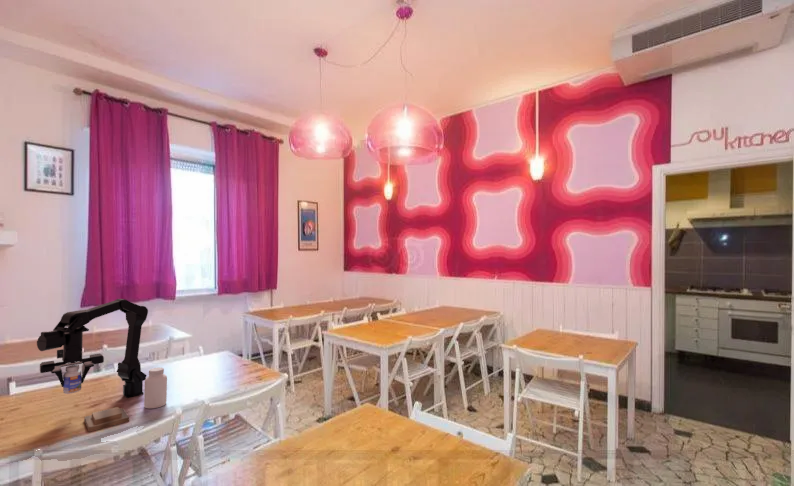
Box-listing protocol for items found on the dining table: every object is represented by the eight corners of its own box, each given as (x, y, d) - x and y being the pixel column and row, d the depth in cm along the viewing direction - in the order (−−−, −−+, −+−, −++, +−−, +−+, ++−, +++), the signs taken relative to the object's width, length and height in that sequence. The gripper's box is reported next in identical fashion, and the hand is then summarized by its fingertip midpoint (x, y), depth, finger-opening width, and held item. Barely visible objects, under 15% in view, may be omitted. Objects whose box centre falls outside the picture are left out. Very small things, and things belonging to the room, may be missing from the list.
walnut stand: (122, 411, 154) (122, 403, 154) (129, 421, 146) (129, 413, 146) (84, 420, 146) (84, 412, 146) (88, 431, 137) (88, 423, 137)
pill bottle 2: (170, 403, 163) (171, 367, 163) (151, 410, 155) (152, 373, 155) (158, 400, 166) (159, 365, 166) (139, 407, 159) (140, 370, 159)
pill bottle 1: (70, 394, 146) (70, 369, 146) (59, 393, 147) (59, 368, 147) (85, 389, 152) (85, 364, 152) (74, 388, 153) (73, 363, 153)
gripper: (99, 337, 162) (99, 374, 162) (39, 345, 149) (38, 385, 148) (104, 342, 154) (103, 381, 154) (40, 350, 141) (40, 393, 141)
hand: (72, 384), depth 149 cm, fingers closed on pill bottle 1, 5 cm apart
